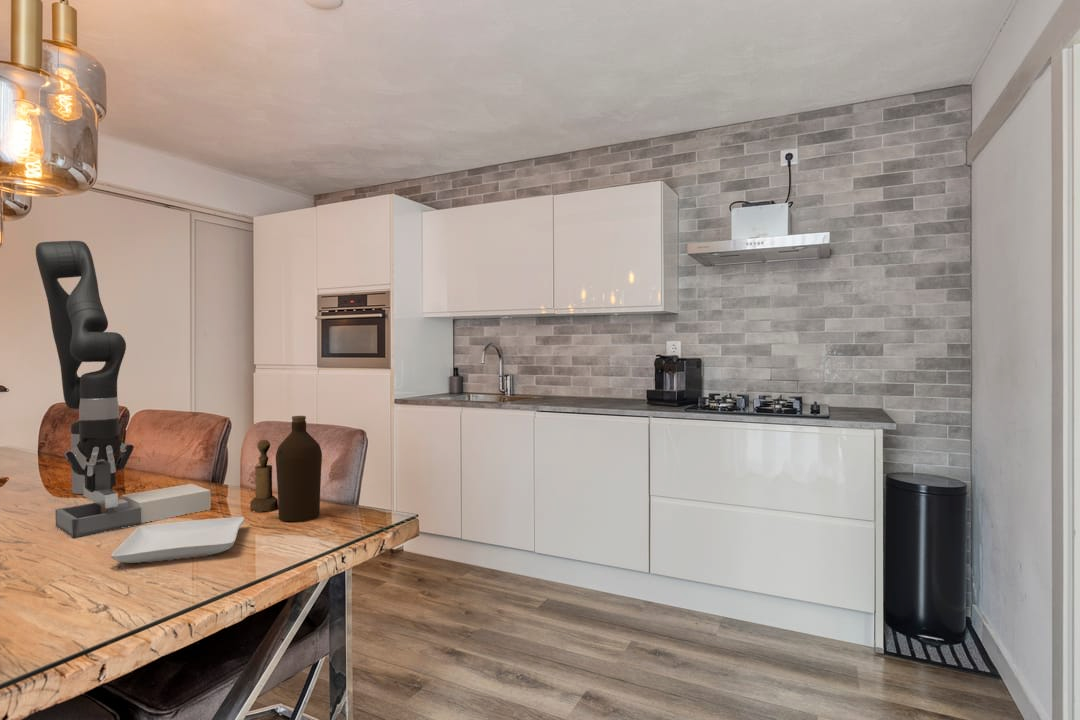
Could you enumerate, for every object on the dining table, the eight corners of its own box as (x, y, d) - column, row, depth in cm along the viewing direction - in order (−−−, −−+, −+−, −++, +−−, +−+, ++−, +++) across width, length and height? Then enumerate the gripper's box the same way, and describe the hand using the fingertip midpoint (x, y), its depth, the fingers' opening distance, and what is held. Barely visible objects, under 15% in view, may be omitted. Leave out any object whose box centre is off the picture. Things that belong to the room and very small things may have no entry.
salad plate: (138, 539, 131) (138, 524, 131) (245, 529, 139) (245, 514, 139) (108, 573, 111) (108, 555, 111) (235, 559, 119) (234, 541, 119)
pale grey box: (122, 517, 144) (107, 520, 142) (122, 498, 144) (107, 501, 141) (128, 520, 141) (113, 523, 139) (128, 501, 141) (113, 504, 139)
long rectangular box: (122, 514, 149) (122, 495, 149) (191, 502, 161) (191, 483, 161) (139, 523, 141) (139, 502, 141) (210, 509, 154) (210, 490, 154)
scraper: (82, 495, 144) (81, 458, 144) (96, 493, 147) (96, 457, 146) (103, 508, 134) (103, 469, 134) (119, 506, 137) (119, 467, 136)
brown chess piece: (244, 510, 153) (243, 441, 153) (264, 504, 159) (264, 437, 159) (263, 513, 150) (263, 442, 150) (283, 507, 156) (283, 439, 156)
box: (55, 526, 139) (55, 509, 139) (120, 514, 149) (120, 498, 149) (73, 538, 131) (72, 520, 130) (141, 524, 141) (140, 507, 141)
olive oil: (309, 524, 142) (309, 419, 141) (267, 522, 143) (266, 418, 142) (329, 511, 152) (329, 414, 152) (290, 510, 153) (289, 413, 153)
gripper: (128, 413, 148) (129, 482, 148) (57, 418, 137) (58, 493, 137) (139, 415, 143) (140, 487, 143) (66, 421, 132) (67, 498, 132)
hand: (100, 489), depth 140 cm, fingers closed on scraper, 3 cm apart
